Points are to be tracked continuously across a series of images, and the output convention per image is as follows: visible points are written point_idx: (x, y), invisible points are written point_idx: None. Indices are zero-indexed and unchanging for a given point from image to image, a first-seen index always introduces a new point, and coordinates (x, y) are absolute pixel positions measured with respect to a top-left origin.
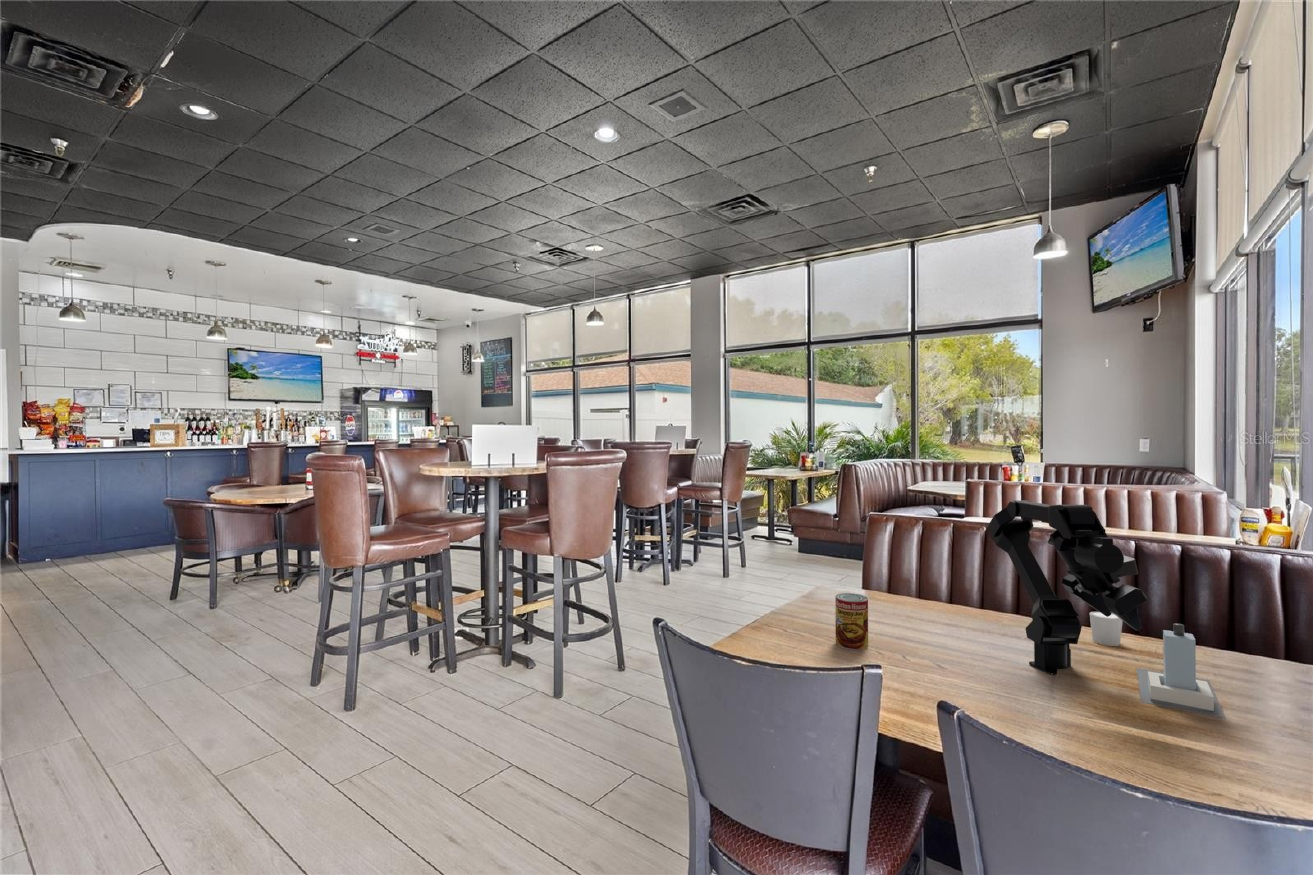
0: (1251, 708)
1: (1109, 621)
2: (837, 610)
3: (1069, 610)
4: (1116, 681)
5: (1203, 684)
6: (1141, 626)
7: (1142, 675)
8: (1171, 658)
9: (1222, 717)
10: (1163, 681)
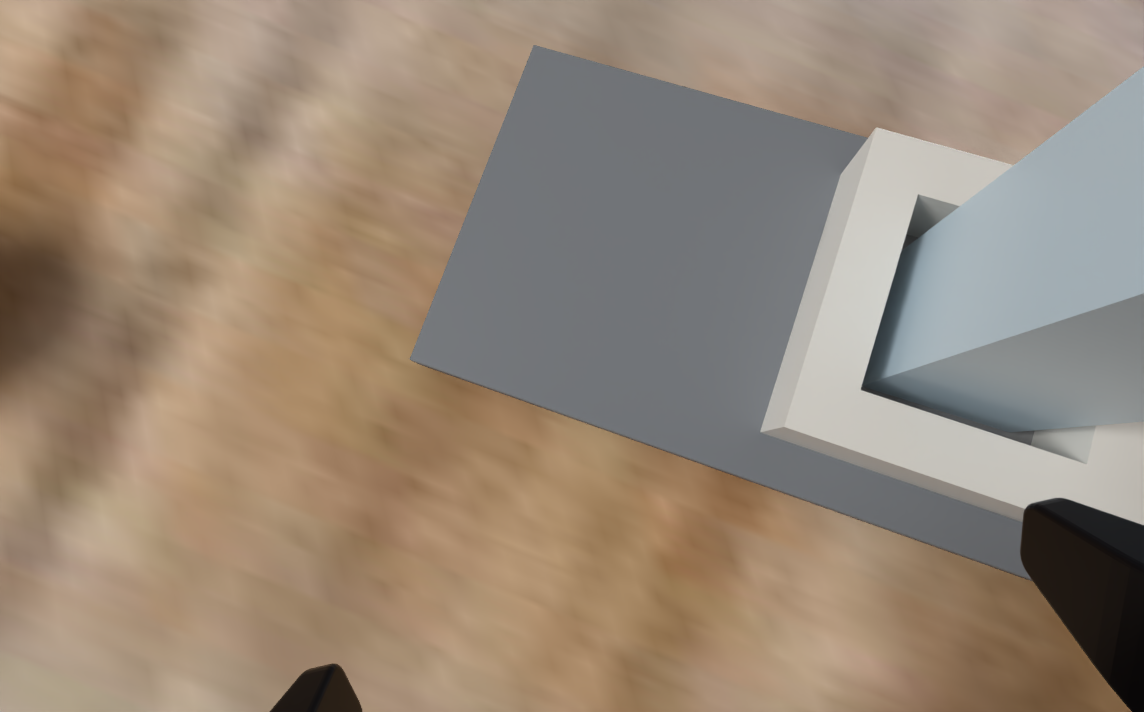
0: (842, 16)
1: None
2: None
3: None
4: (634, 560)
5: (948, 172)
6: (1108, 516)
7: (561, 384)
8: None
9: None
10: (886, 379)
